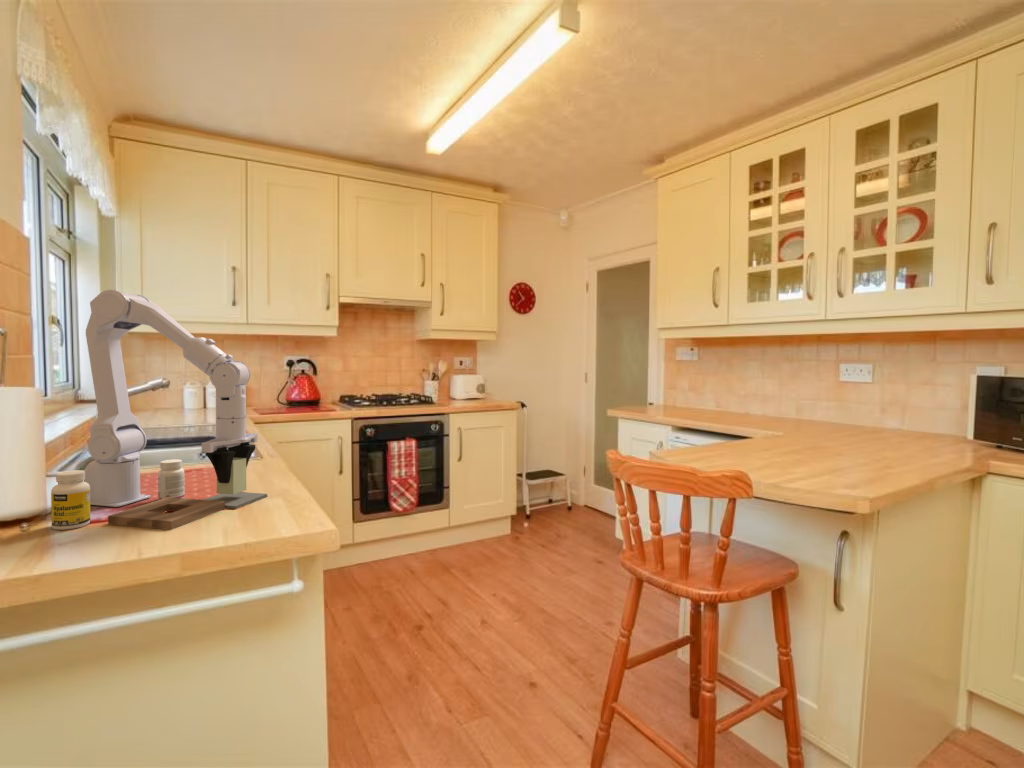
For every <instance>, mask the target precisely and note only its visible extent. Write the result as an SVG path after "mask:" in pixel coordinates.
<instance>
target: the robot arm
mask: <svg viewBox="0 0 1024 768" xmlns="http://www.w3.org/2000/svg"><path fill="white" fill-rule="evenodd" d="M89 305H90V312H91V313H90V316H89V319H88V322H87V325H86V328H85V338H86V339H85V340H86V344H87V350H88V351H87V352H88V358H89V363H90V370H91V376H92V382H93V390H94V397H95V402H96V410H97V414H98V416H97V417H96V419H95V420H94V421H93V423H92V424H91V425H90V427H89V430H90V435H89V436H90V437H89V438H88V439H89V440H88V441H87V450H88V452H89V454H90V456H91V457H92V458H93V459H94V460H92V461H90V462H89V463H88V464H87V465H86V467H85V468H84V471H85V479H84V480H83V481H84V482H86V483H88V484H89V485H90V506H101V507H115V508H117V507H119V508H120V507H122V506H126V505H129V504H134V503H137V502H139V501H142V500H146V499H149V498H151V496H152V495H151V494H141V466H140V465H141V461H140V460H141V459H140V457H141V451H143V450H144V449H145V448H146V446H147V441H148V439H147V434H146V433H145V431H144V430H143V428H142V426H141V422H140V419H139V418H138V417H136V416H135V415H134V413H132V410H131V404H130V398H129V392H128V385H127V377H126V371H125V364H124V359H123V351H122V345H121V340H122V338H124V336H125V335H126V334H127V333H128V332H130V331H132V330H134V329H135V328H138V327H140V326H142V325H143V326H149V327H151V328H152V329H153V330H155V331H156V332H158V333H159V334H161V335H162V336H164V337H166V338H167V339H169V340H170V341H171V342H172V343H174V344H176V345H177V346H178V347H180V348H182V355H183V358H185V359H186V360H187V361H189V362H190V363H191V364H192V365H193V366H195V367H196V368H197V369H199V370H200V371H202V372H203V373H204V374H205V375H206V376H208V377H209V381H210V382H211V383H212V386H214V388H215V438H212V439H210V440H207V441H205V442H201V453H205V455H206V457H207V458H208V460H209V461H210V463H211V464H212V466H213V468H214V472H215V475H216V480H217V479H218V482H219V483H229V481H230V475H231V465H232V460H233V457H235V458H246V469H247V467H248V465H249V461H250V459H251V457H252V455H253V453H254V451H255V450H256V444H251V443H257V442H258V433H252V432H250V433H249V432H248V433H247V384H248V383H249V381H250V379H251V371H250V369H249V368H248V367H249V366H247V365H246V364H245V363H244V361H240V360H233V359H234V356H233V355H232V354H230V353H228V354H227V353H225V352H224V351H223V350H222V349H220V348H219V347H217V346H216V345H215V344H216V341H215V340H214V339H212V338H206V337H203V336H201V337H200V336H198V337H196V336H194V335H193V334H192V333H190V331H188V330H187V329H185V328H184V327H183V326H182V325H181V324H180V323H179V322H177V321H176V320H175V319H174V318H172V317H171V315H169V314H168V313H167V312H165V311H164V310H163V309H162V308H161V307H160V306H159V305H158V304H157V303H155V302H152V301H151V300H150V299H149V298H147V297H146V296H144V295H140V294H131V293H126V292H121V291H119V290H116V289H107V290H103V291H102V292H100V293H99V294H97V295H96V296H95V297H94V298H93V299H92V300H91V301H89Z"/></svg>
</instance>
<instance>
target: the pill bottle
mask: <svg viewBox="0 0 1024 768" xmlns="http://www.w3.org/2000/svg"><path fill="white" fill-rule="evenodd" d="M159 467H160V470H158V472H157V487H158V491H157V493H158V495H157V496H158V499H157V500H161V499H164V498H167V497H173V498H186V497H185V492H186V491H185V469H184V468H183V460H182V459H179V458H177V459H166V460H161V461H160V462H159Z"/></svg>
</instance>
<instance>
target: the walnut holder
mask: <svg viewBox="0 0 1024 768" xmlns="http://www.w3.org/2000/svg"><path fill="white" fill-rule="evenodd" d="M168 510H174V511H172V512H169V511H168ZM223 510H226V508H225V501H213V500H203V499H198V498H197V499H196V498H186V497H184V498H173V497H167V498H164V499H161V500H159V499H157V500H154V501H151V502H149V503H145V504H142V505H138V506H136V507H132V508H128V509H126V510H123V511H120V512H117V513H113V514H109V515H107V525H115V526H116V525H118V526H126V527H127V526H129V527H139V528H151V529H161V530H174V529H177V528H179V527H181V526H184V525H187V524H189V523H192V522H194V521H196V520H199V519H202V518H204V517H207V516H209V515H213V514H215V513H218V512H220V511H223ZM165 511H168V512H165ZM163 512H165V513H163Z"/></svg>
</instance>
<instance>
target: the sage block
mask: <svg viewBox="0 0 1024 768" xmlns="http://www.w3.org/2000/svg"><path fill="white" fill-rule="evenodd" d="M245 491H247V468H246V458H235V457H233V460H232V465H231V475H230V481H229V483H219V482H218V479H217V478H216V494H220V493H221V494H236V493H239V492H245Z"/></svg>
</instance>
